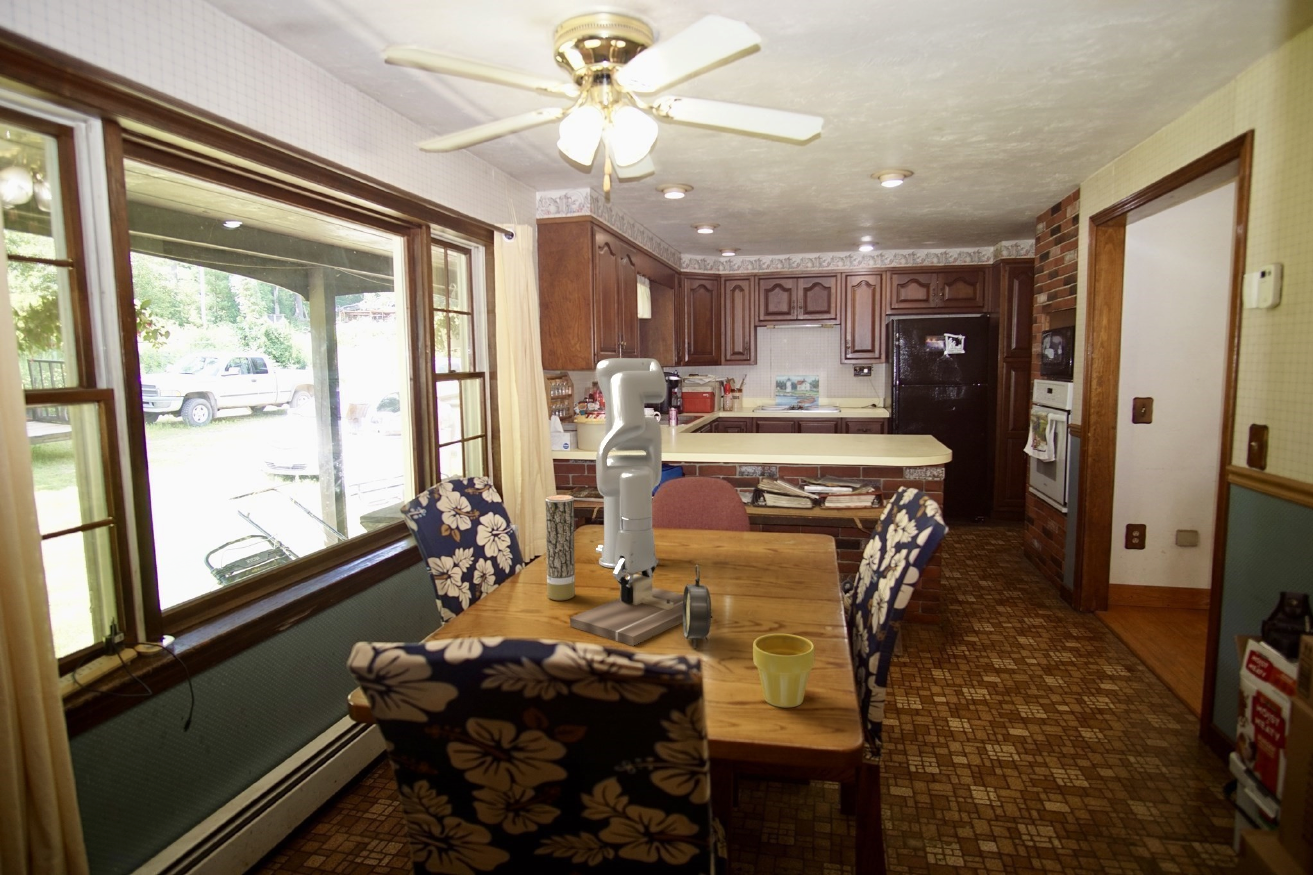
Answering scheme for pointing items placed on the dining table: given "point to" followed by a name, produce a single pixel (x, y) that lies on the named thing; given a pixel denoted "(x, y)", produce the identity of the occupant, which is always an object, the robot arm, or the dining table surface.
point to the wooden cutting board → (631, 618)
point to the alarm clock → (696, 611)
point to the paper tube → (560, 547)
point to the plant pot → (783, 667)
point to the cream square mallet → (646, 593)
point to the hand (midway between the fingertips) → (636, 597)
